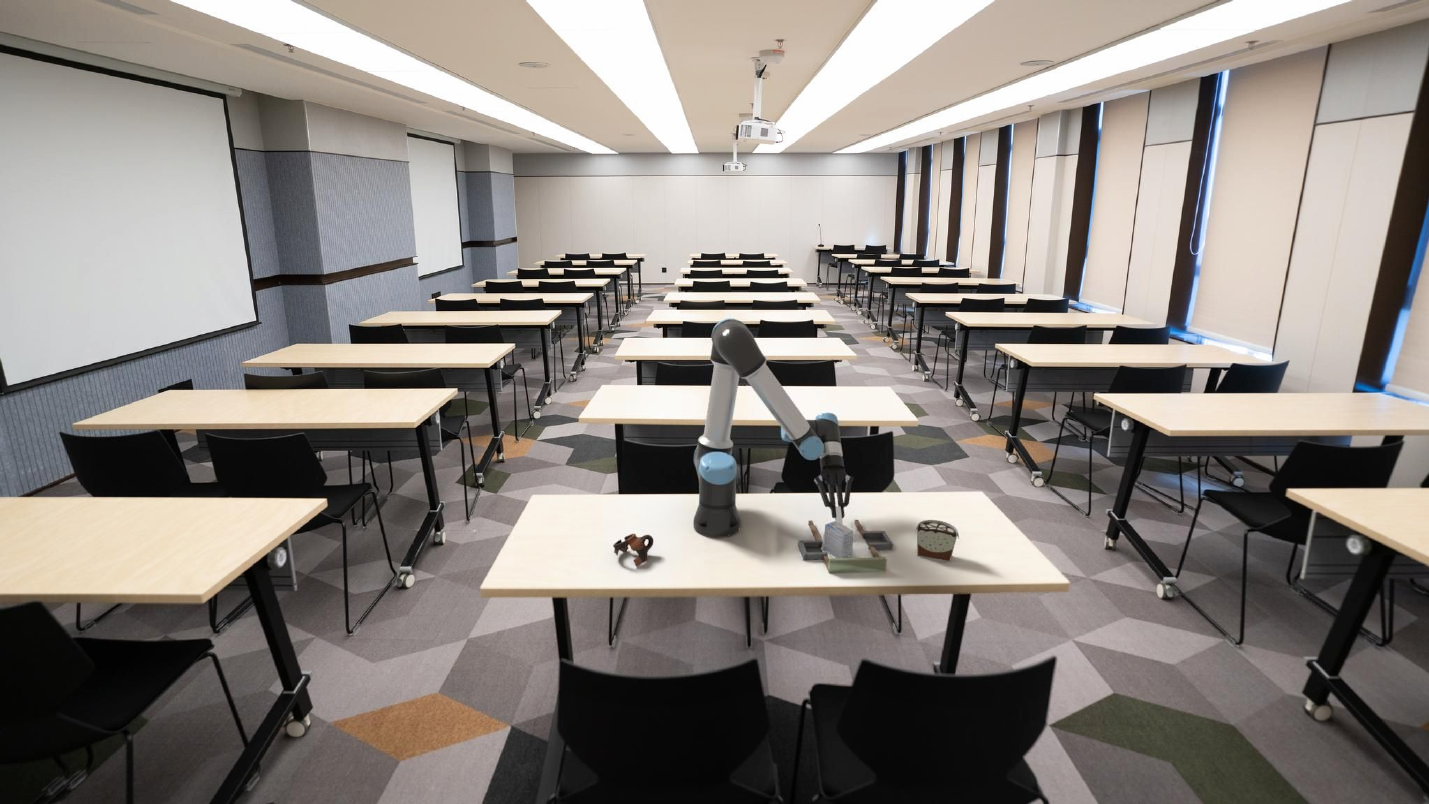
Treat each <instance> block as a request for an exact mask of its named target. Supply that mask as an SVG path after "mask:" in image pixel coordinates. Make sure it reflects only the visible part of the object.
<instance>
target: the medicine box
mask: <svg viewBox="0 0 1429 804" xmlns="http://www.w3.org/2000/svg"><path fill="white" fill-rule="evenodd" d="M824 525H825V526H824V535H823V536H824V537H823V551H825V552H827V553H828V554H831V555H832V556H834V557H835V558H852V556H853V546H854V533H855V531H854V529H852V528H849V527H847V526H846V525H844V524H843V525H842V524H840V523H838V522H836V521H835V520H834V521H832V522H828V523H826V524H824Z"/></svg>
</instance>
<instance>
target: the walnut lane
mask: <svg viewBox="0 0 1429 804" xmlns="http://www.w3.org/2000/svg"><path fill="white" fill-rule="evenodd" d="M853 524H854V526H855V528H856V529H857V531H858V533H859V535H860V537H861V538H862V531H866V530H865V528H864V527H863V525H862V524H861V521H860V520H859V519H854V523H853ZM808 527H809V530H810V532H811V535H812V536H813V538H814V539H813V540H822V539H821V537H820V535H819V532H818V530H817V528H816V526H815V524H814V521H813V520H811V519H809V520H808ZM866 535H867V534H866ZM866 535H865V536H866ZM863 538H864V537H863ZM863 538H862V539H863ZM821 544H822V545H823V542H822V543H821ZM818 547H821V546H820V545H819V544H818ZM867 547H870V549H869V548H868V551H869V553H870V554H871V557H870V556H869V557H849V558H837V557H835V558H834V557H833V558H831V557H830V556H829V555H828V556H824V560H823V562H824V566H825V567H826V570H827V571H828V573H829V574H836V573H837V574H842V573H850V574H851V573H885V572H887V571H886V570H887V560H888V559H887V557H886V556H880V554H879V552H878V550H876V549H875V548H874V546H868V545H867ZM821 548H822V549H823V546H822V547H821Z"/></svg>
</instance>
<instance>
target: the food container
mask: <svg viewBox="0 0 1429 804" xmlns="http://www.w3.org/2000/svg"><path fill="white" fill-rule="evenodd" d="M914 532H916V539H917V540H916V541H917V542H916V549H917V551H916V554H917V557H920V558H926V559H931V560H938V561H944V562H949V563H950V562H951V559H952V557H953V552H954V549H955V546H956V541H957V539H960V536H959V531H958V528H956V526H955V525H952V524H951V523H949V522H946V521H943V520H936V519H927V520H922V521H919V522H918V524H917V525H916V526H915V531H914Z"/></svg>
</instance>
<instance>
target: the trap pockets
mask: <svg viewBox="0 0 1429 804" xmlns="http://www.w3.org/2000/svg"><path fill="white" fill-rule="evenodd" d="M866 534H867V535H866ZM865 535H866V536H865ZM863 537H864V538H863ZM861 538H862V539H863V540H864V542H865V543H866V544H867V547H868V546H874V548H875V549H876V551H893V550H894V549H893V548H894V543H893V541H892V540H891V539H890V537H889V536H888V534H887V532H886V531H885V530H865V531H862V537H861ZM821 543H822V544H821ZM818 544H819V545H820V546H821V547H822V548H821V547H818ZM797 548H798V551H799V552H800V555H801V559H802V561H824V556H828V557H829V552H827V551H824V550H823V540H822V539H821V540H815V539H809V540H808V539H807V540H806V539H804V540H803V539H802V540H801V539H799V540H798V543H797ZM868 548H869V549H870V547H868ZM869 549H868V550H869Z"/></svg>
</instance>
